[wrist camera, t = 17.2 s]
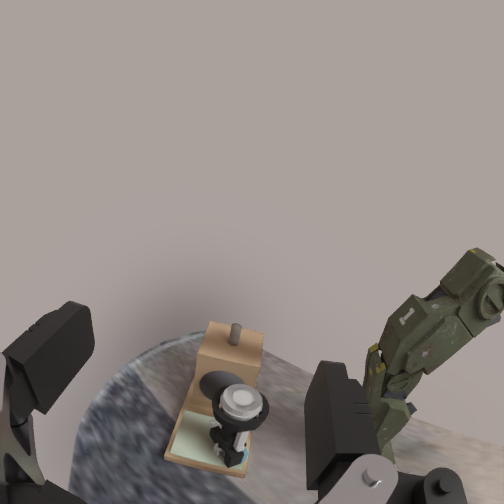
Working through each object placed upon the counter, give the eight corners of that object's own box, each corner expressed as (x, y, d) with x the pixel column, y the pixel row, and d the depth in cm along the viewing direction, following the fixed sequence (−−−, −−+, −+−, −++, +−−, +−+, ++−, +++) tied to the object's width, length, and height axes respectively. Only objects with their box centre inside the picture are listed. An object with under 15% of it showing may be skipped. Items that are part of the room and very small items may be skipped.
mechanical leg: (286, 467, 27) (479, 238, 17) (289, 423, 33) (439, 218, 23) (375, 483, 27) (546, 304, 17) (369, 445, 34) (511, 277, 24)
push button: (190, 431, 29) (197, 375, 26) (229, 420, 32) (244, 364, 29) (217, 475, 24) (232, 427, 21) (259, 459, 27) (283, 408, 24)
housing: (196, 372, 41) (205, 302, 37) (255, 386, 40) (275, 318, 36) (164, 459, 25) (163, 392, 21) (244, 478, 25) (271, 417, 21)
